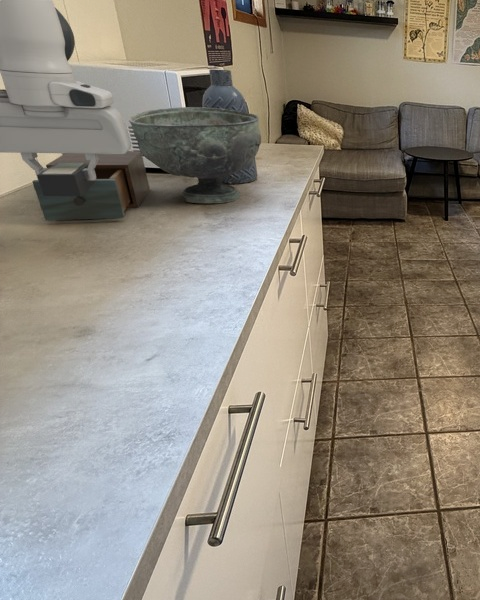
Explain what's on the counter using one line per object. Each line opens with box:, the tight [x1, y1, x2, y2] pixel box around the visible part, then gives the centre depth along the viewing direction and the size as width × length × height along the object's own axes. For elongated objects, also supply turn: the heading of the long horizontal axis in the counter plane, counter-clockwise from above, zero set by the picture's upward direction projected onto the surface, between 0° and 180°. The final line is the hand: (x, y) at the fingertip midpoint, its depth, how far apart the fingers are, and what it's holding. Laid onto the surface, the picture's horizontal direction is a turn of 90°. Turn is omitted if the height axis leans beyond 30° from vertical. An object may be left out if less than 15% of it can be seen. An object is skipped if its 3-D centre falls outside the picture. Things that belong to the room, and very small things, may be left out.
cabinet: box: [45, 150, 151, 209], centre depth 109 cm, size 16×15×10 cm
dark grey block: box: [36, 163, 95, 196], centre depth 80 cm, size 5×9×4 cm, turn 20°
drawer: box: [32, 168, 132, 221], centre depth 99 cm, size 16×13×8 cm
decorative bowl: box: [127, 106, 262, 204], centre depth 113 cm, size 26×26×20 cm
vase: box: [201, 68, 258, 185], centre depth 128 cm, size 12×12×28 cm
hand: (68, 179), depth 80 cm, fingers closed on dark grey block, 5 cm apart
